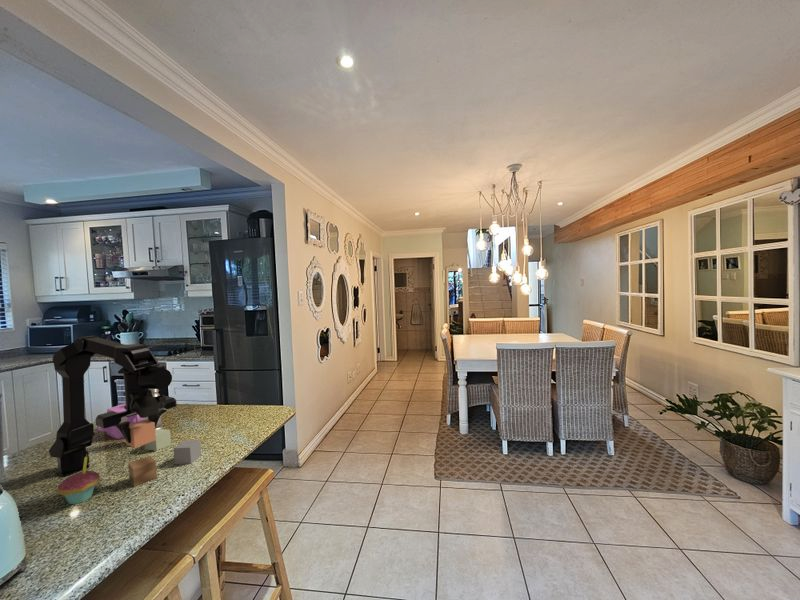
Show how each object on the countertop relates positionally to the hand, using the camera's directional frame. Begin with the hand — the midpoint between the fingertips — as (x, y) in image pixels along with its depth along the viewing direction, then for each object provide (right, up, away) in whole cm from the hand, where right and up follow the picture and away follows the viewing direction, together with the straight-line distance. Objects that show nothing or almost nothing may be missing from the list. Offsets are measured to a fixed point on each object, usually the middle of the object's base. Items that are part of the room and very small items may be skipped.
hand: (140, 438), depth 102 cm
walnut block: (0, -13, 0) cm, 13 cm away
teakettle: (-33, -12, +38) cm, 52 cm away
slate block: (+7, -12, +12) cm, 18 cm away
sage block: (-10, -12, +22) cm, 27 cm away
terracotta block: (0, -1, 0) cm, 1 cm away
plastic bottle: (-16, -12, +28) cm, 34 cm away
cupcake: (-10, -14, -8) cm, 19 cm away
